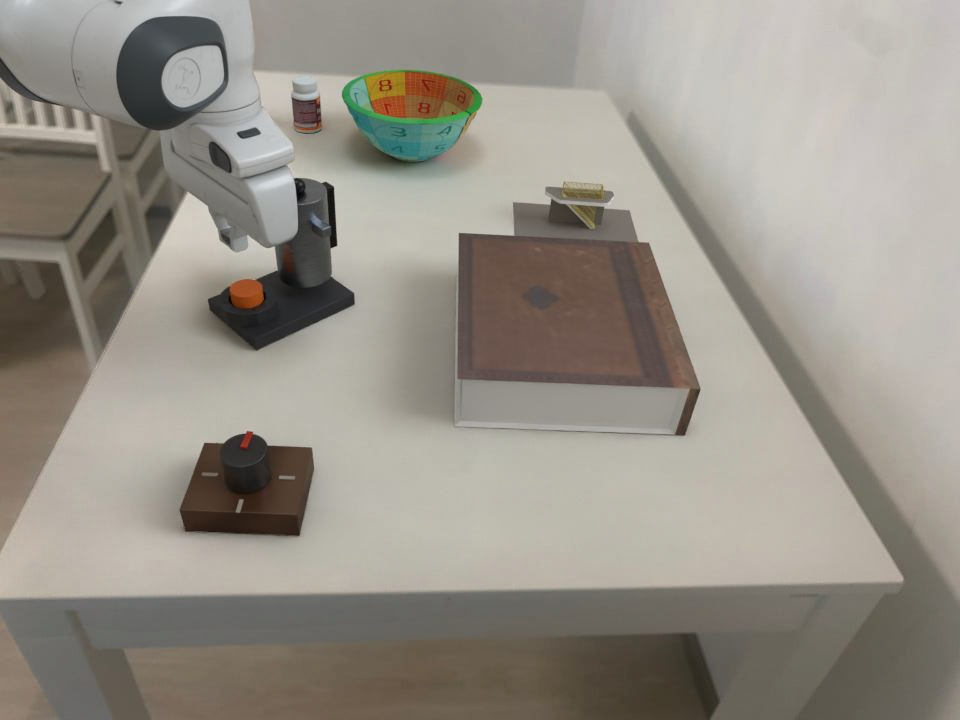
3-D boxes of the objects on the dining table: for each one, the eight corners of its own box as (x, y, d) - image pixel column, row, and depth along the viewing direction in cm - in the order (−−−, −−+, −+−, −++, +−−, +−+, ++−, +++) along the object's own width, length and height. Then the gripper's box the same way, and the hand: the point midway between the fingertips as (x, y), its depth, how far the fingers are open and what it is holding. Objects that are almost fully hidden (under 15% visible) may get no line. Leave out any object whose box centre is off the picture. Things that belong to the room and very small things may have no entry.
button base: (250, 353, 86) (246, 328, 84) (203, 312, 91) (199, 288, 89) (354, 304, 95) (354, 280, 93) (306, 269, 100) (304, 246, 98)
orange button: (242, 313, 87) (240, 300, 86) (225, 299, 89) (223, 286, 88) (270, 301, 89) (268, 289, 88) (252, 287, 91) (251, 275, 90)
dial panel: (184, 532, 67) (178, 509, 65) (209, 463, 74) (204, 440, 72) (299, 537, 68) (296, 514, 66) (314, 467, 74) (312, 445, 72)
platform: (641, 251, 109) (651, 210, 105) (515, 242, 109) (520, 201, 104) (629, 210, 119) (638, 171, 114) (513, 202, 118) (517, 162, 114)
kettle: (308, 301, 89) (299, 205, 81) (267, 271, 93) (255, 176, 85) (360, 278, 93) (357, 184, 85) (319, 250, 97) (312, 157, 89)
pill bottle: (324, 132, 132) (322, 84, 127) (297, 135, 131) (293, 86, 125) (318, 121, 136) (315, 73, 130) (291, 123, 134) (287, 75, 129)
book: (638, 284, 103) (648, 242, 98) (685, 434, 81) (700, 389, 77) (456, 276, 101) (458, 232, 97) (454, 426, 80) (457, 379, 76)
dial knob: (264, 495, 67) (259, 466, 65) (219, 491, 67) (212, 461, 65) (276, 462, 70) (272, 432, 68) (233, 457, 70) (227, 428, 68)
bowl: (316, 148, 127) (312, 88, 121) (413, 115, 141) (414, 59, 134) (409, 197, 117) (410, 135, 110) (505, 156, 130) (511, 98, 124)
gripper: (134, 96, 78) (159, 216, 87) (246, 170, 68) (261, 297, 77) (190, 84, 82) (209, 200, 91) (305, 152, 72) (313, 275, 81)
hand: (234, 245), depth 84 cm, fingers closed
